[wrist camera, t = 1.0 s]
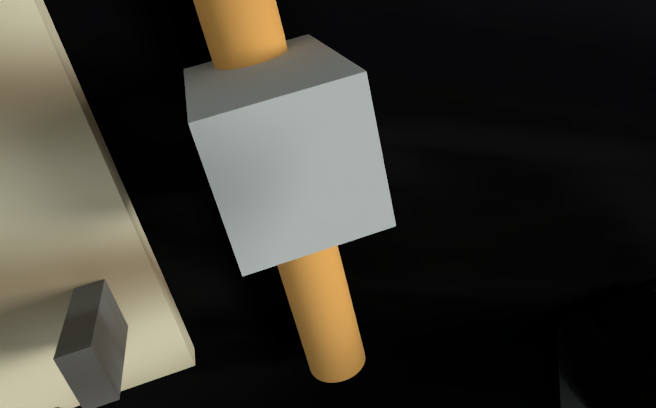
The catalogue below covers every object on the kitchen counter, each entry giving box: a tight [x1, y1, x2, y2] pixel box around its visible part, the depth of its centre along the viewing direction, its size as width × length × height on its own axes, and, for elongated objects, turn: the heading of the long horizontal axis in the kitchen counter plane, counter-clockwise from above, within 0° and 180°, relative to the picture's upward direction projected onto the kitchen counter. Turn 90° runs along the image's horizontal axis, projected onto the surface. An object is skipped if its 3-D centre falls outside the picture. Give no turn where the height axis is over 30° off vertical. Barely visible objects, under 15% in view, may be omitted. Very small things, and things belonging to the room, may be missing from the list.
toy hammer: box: [184, 0, 396, 383], centre depth 15 cm, size 21×4×6 cm, turn 13°
